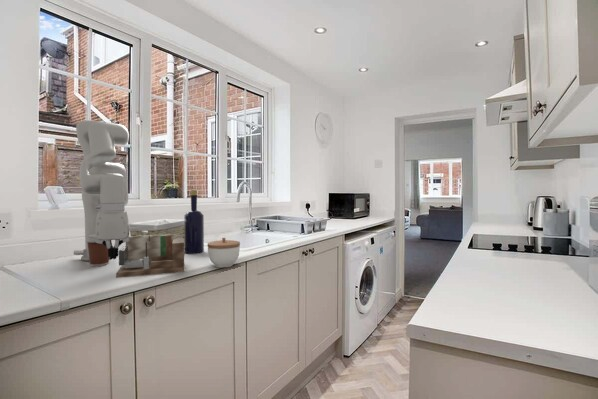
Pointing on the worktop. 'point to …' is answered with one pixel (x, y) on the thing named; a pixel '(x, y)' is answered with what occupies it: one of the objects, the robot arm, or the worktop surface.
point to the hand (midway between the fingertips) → (113, 258)
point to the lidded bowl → (223, 252)
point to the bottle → (194, 228)
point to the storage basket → (158, 228)
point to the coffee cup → (97, 252)
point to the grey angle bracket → (129, 262)
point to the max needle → (146, 260)
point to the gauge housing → (155, 255)
